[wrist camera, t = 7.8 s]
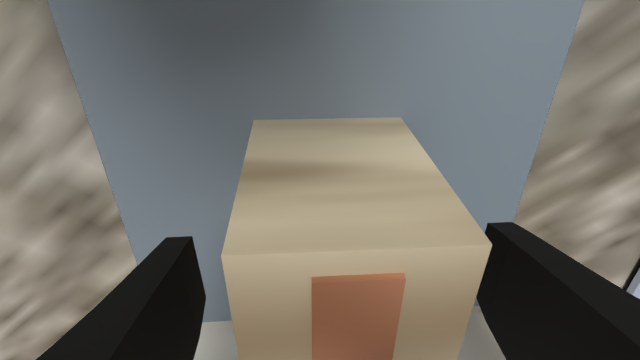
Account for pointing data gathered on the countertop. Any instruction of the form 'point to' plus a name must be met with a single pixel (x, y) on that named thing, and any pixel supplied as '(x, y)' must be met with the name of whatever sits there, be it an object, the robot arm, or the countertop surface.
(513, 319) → the robot arm
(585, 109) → the countertop surface
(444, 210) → the labelled block
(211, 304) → the slate pad
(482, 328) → the parts tray
